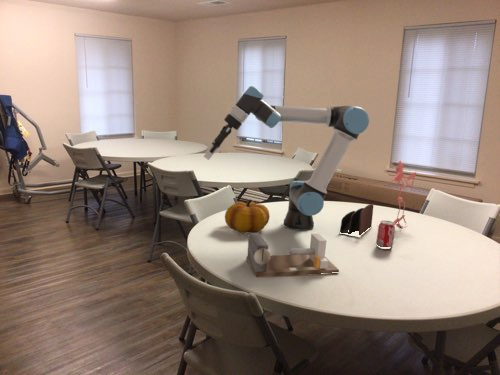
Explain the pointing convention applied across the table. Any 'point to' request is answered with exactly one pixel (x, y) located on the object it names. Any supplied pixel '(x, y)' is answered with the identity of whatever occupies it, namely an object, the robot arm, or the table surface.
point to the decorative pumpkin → (247, 217)
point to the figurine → (399, 178)
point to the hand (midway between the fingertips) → (206, 156)
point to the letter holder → (357, 220)
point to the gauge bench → (279, 261)
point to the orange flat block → (316, 262)
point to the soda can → (385, 234)
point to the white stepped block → (314, 250)
